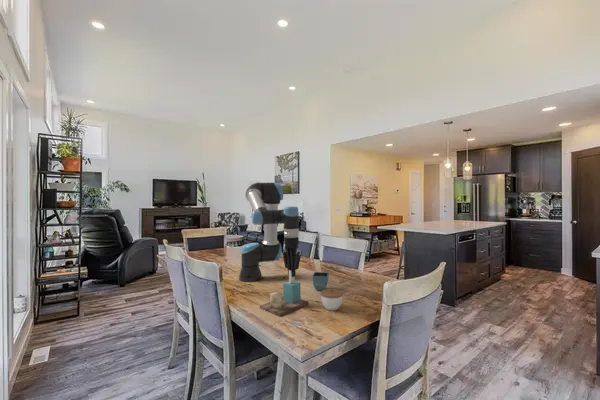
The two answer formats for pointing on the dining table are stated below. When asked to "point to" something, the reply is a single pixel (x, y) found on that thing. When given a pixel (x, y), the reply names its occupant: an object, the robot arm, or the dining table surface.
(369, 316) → the dining table surface
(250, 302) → the dining table surface
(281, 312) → the base board
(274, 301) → the cream smooth rounded part
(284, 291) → the teal rectangular block
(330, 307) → the lidded jar
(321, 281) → the flower pot
